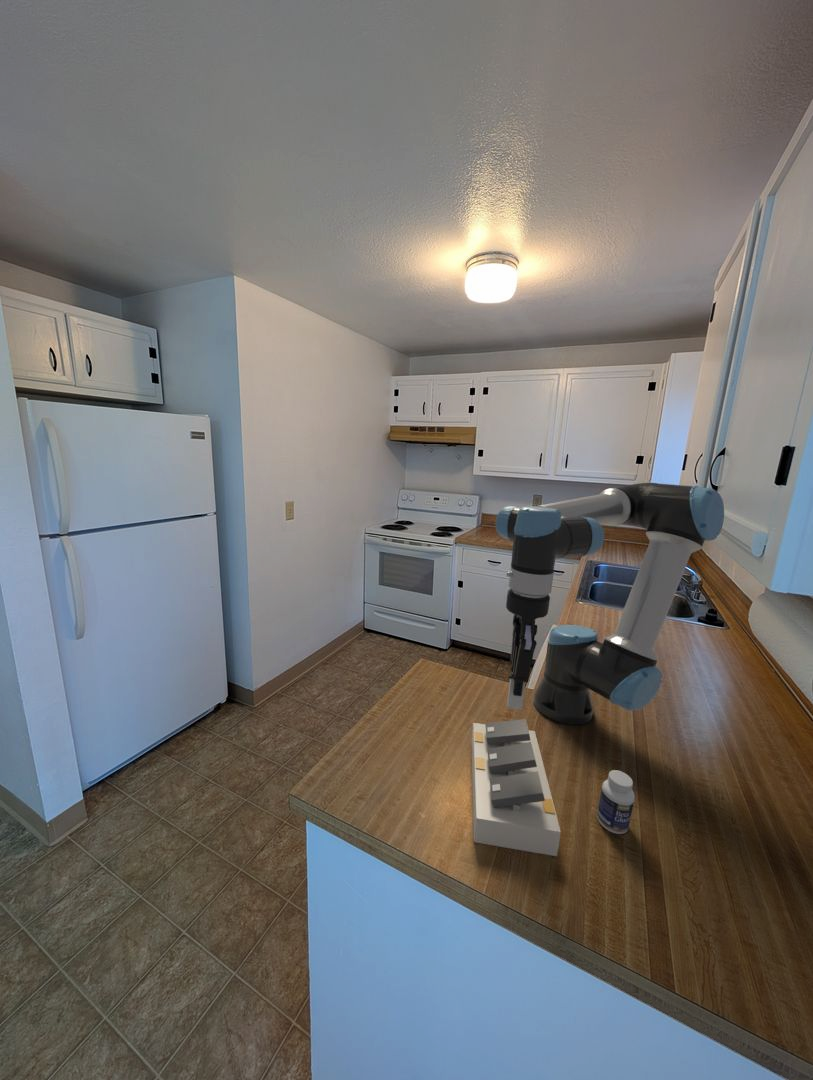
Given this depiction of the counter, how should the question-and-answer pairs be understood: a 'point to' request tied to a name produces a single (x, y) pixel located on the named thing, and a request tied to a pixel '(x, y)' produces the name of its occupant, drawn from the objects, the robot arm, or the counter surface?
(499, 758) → the block
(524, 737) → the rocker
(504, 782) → the block
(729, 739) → the counter surface
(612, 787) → the pill bottle
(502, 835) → the switch unit
